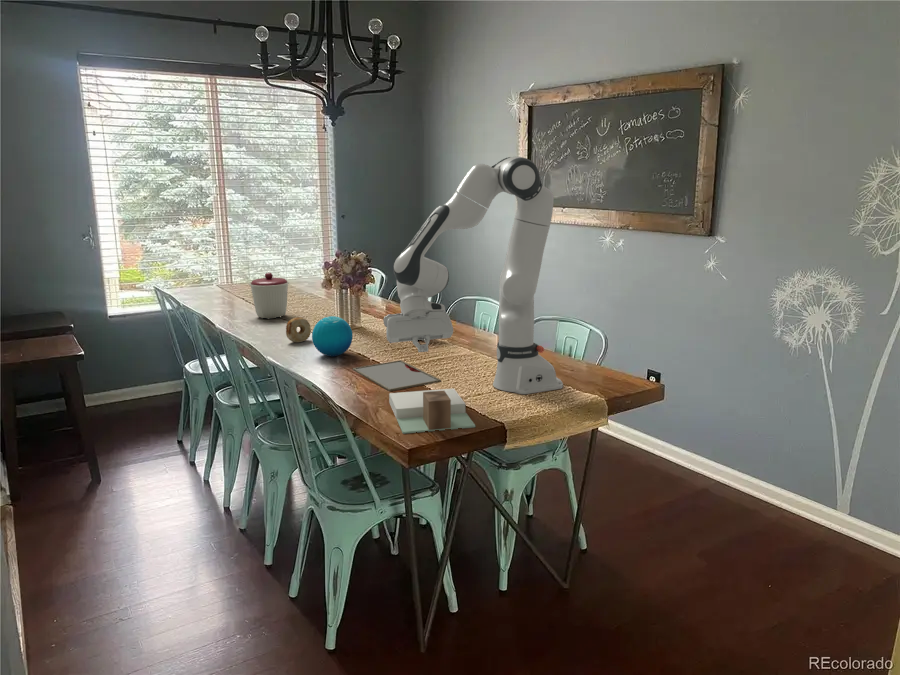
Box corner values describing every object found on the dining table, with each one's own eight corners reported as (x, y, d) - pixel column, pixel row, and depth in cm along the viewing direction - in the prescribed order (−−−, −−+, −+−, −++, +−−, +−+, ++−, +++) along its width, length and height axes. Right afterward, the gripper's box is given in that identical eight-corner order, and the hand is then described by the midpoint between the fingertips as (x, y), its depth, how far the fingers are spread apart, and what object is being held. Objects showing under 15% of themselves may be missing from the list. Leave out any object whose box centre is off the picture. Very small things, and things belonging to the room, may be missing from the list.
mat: (466, 414, 194) (466, 412, 194) (475, 427, 185) (475, 425, 184) (397, 420, 190) (397, 418, 190) (402, 433, 180) (402, 431, 180)
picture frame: (440, 382, 224) (400, 362, 247) (441, 379, 224) (400, 360, 247) (389, 392, 214) (352, 370, 237) (389, 389, 214) (352, 368, 237)
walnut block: (444, 390, 188) (450, 399, 181) (444, 417, 190) (450, 427, 183) (423, 392, 187) (428, 401, 180) (423, 419, 189) (428, 429, 182)
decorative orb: (340, 362, 245) (338, 322, 242) (305, 358, 251) (302, 319, 247) (360, 352, 259) (359, 314, 255) (326, 348, 264) (324, 311, 261)
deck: (454, 397, 208) (454, 388, 207) (465, 413, 195) (465, 403, 194) (389, 402, 204) (389, 393, 203) (396, 419, 191) (396, 409, 190)
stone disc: (290, 344, 270) (288, 320, 268) (285, 343, 273) (284, 318, 270) (313, 340, 277) (311, 316, 274) (308, 338, 279) (307, 315, 277)
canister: (297, 313, 327) (294, 270, 322) (281, 321, 310) (278, 276, 305) (262, 312, 331) (259, 269, 325) (244, 320, 313) (241, 275, 308)
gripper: (383, 309, 203) (389, 348, 196) (449, 304, 208) (458, 342, 201) (381, 320, 208) (388, 359, 202) (446, 315, 213) (454, 353, 206)
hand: (423, 351), depth 201 cm, fingers closed
